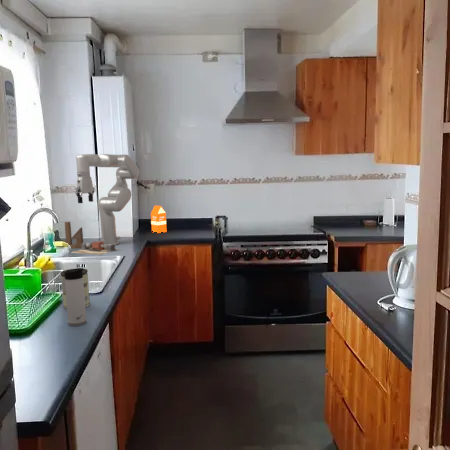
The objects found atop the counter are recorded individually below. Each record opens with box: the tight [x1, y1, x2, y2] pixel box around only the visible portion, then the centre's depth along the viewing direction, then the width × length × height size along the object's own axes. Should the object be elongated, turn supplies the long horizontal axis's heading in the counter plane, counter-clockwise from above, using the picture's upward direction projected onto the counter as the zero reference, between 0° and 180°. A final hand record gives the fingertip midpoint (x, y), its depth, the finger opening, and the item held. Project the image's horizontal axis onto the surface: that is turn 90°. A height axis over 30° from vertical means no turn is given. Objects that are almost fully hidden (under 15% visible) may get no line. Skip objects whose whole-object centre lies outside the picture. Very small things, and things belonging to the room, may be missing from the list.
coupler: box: [91, 240, 104, 250], centre depth 322 cm, size 5×8×5 cm, turn 63°
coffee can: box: [59, 268, 91, 310], centre depth 206 cm, size 10×10×14 cm
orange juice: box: [150, 205, 168, 234], centre depth 393 cm, size 8×9×20 cm
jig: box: [70, 242, 119, 256], centre depth 319 cm, size 18×23×5 cm
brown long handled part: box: [64, 221, 84, 250], centre depth 330 cm, size 4×11×18 cm, turn 87°
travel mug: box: [64, 267, 87, 327], centre depth 184 cm, size 6×7×20 cm
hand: (85, 202), depth 325 cm, fingers open, 9 cm apart
